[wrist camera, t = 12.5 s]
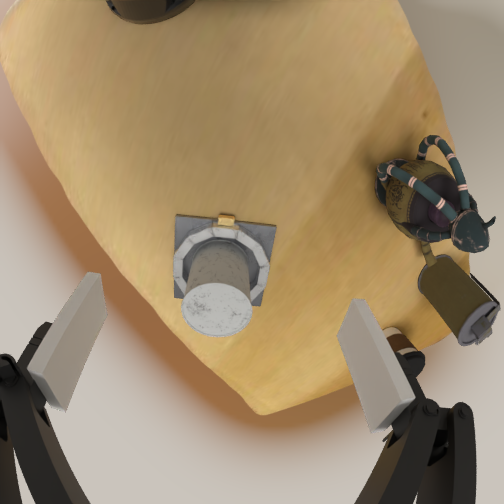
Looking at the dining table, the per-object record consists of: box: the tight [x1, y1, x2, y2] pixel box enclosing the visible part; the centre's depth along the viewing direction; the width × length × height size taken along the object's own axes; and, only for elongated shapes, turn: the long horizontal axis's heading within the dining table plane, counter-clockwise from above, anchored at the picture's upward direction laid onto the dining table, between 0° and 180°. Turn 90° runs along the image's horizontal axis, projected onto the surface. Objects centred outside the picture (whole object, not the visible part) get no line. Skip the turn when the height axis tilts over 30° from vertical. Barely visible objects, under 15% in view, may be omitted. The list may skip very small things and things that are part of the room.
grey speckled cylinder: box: [181, 239, 252, 337], centre depth 43 cm, size 10×10×12 cm
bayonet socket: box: [173, 214, 276, 306], centre depth 48 cm, size 18×16×3 cm
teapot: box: [375, 135, 496, 267], centre depth 35 cm, size 12×25×23 cm, turn 33°
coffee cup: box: [382, 327, 425, 377], centre depth 56 cm, size 11×11×12 cm
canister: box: [418, 255, 500, 346], centre depth 45 cm, size 11×10×20 cm
